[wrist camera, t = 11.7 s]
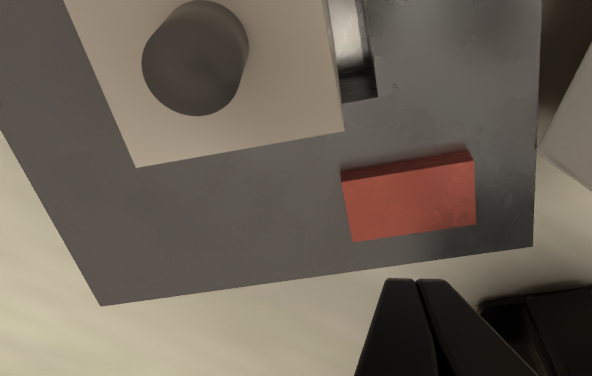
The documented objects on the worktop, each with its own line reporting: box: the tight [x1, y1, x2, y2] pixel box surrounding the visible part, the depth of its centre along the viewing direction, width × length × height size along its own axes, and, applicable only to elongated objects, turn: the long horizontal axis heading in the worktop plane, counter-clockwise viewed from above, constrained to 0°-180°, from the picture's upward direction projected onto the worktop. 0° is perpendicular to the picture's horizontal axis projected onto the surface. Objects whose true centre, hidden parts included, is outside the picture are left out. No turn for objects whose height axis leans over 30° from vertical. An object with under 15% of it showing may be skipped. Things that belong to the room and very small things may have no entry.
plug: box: [63, 0, 345, 168], centre depth 13 cm, size 5×5×8 cm
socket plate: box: [0, 0, 542, 306], centre depth 16 cm, size 16×16×4 cm
